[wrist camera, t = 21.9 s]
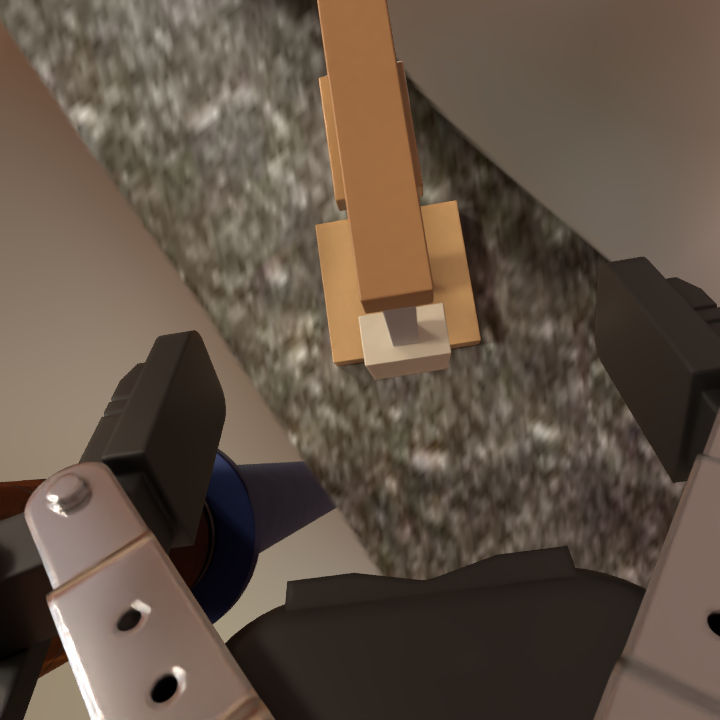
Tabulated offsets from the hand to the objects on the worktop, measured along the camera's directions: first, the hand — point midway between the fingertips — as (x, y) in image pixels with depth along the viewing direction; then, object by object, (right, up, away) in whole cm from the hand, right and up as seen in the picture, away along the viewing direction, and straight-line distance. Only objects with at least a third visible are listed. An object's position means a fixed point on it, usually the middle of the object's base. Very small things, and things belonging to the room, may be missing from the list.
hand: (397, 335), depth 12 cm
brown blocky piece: (+1, +6, +22) cm, 23 cm away
